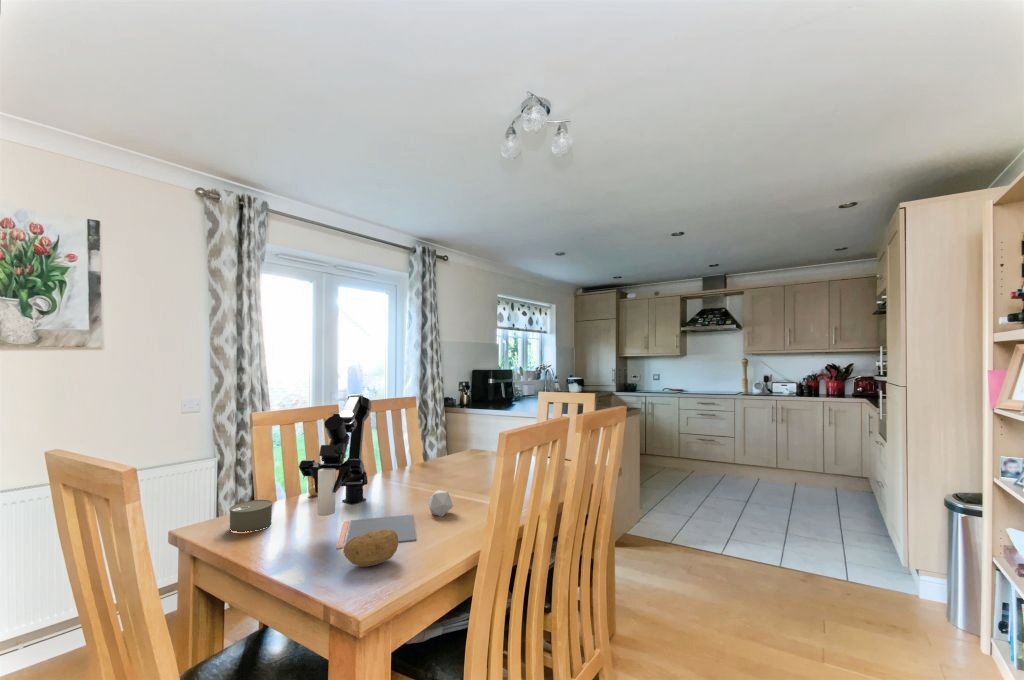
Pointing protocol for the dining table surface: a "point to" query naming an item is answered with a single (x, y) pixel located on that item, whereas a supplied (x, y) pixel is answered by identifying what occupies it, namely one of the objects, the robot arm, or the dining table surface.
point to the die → (440, 503)
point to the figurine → (312, 488)
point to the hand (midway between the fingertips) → (325, 492)
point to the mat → (384, 527)
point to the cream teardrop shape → (326, 491)
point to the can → (250, 515)
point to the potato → (371, 548)
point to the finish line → (342, 535)
